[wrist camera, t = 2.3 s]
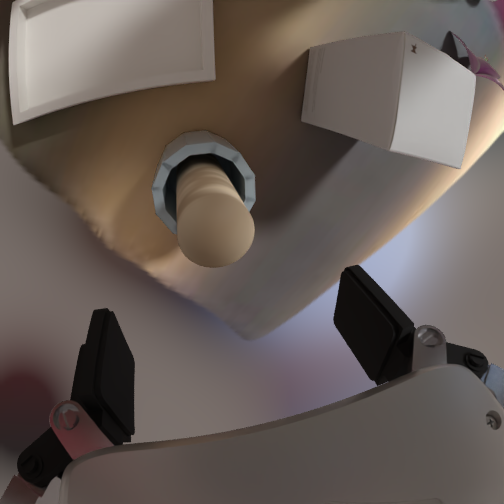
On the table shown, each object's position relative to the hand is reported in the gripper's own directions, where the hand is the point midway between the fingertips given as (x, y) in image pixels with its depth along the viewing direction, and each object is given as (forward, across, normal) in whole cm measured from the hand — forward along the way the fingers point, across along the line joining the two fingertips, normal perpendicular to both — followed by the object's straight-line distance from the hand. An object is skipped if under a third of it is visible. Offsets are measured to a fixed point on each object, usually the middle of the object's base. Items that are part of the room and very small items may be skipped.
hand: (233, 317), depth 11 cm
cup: (+21, 0, -1) cm, 21 cm away
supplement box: (+21, -16, -9) cm, 28 cm away
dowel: (+20, 0, -1) cm, 20 cm away
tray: (+21, +8, -17) cm, 28 cm away
